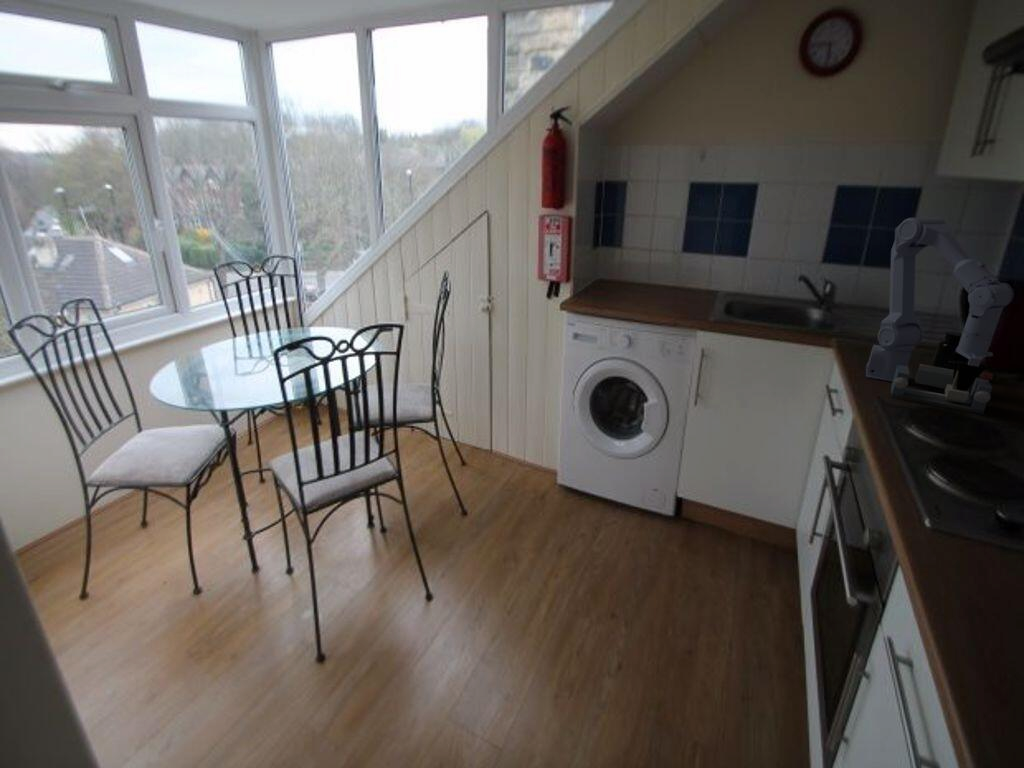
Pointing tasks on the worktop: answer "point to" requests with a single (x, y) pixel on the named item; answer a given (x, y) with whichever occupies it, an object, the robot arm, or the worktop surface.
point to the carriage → (955, 392)
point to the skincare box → (934, 376)
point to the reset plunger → (986, 376)
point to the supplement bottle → (946, 351)
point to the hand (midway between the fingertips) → (960, 384)
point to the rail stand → (972, 404)
